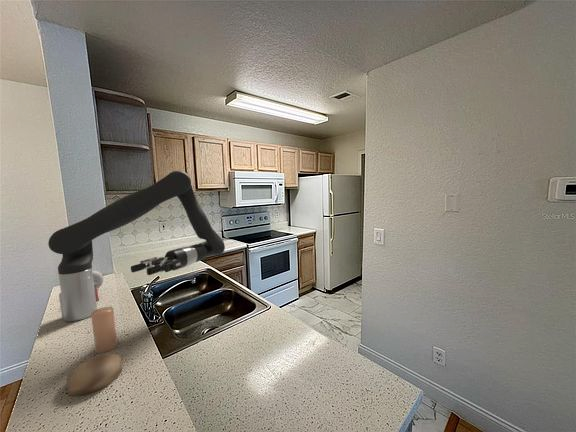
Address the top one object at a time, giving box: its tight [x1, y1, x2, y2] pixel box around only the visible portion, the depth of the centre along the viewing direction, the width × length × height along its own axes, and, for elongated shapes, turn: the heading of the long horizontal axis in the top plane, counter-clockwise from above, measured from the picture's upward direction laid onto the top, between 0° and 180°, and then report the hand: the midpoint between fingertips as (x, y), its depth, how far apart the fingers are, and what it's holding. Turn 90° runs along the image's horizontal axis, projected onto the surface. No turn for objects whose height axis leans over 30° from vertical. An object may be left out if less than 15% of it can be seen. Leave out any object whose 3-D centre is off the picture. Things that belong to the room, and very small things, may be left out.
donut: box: [92, 270, 104, 290], centre depth 111 cm, size 10×4×10 cm, turn 140°
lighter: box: [93, 278, 100, 303], centre depth 101 cm, size 8×3×10 cm, turn 62°
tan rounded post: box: [90, 306, 118, 354], centre depth 68 cm, size 5×5×11 cm
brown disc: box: [66, 353, 123, 397], centre depth 56 cm, size 10×10×2 cm
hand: (139, 270), depth 76 cm, fingers open, 8 cm apart
